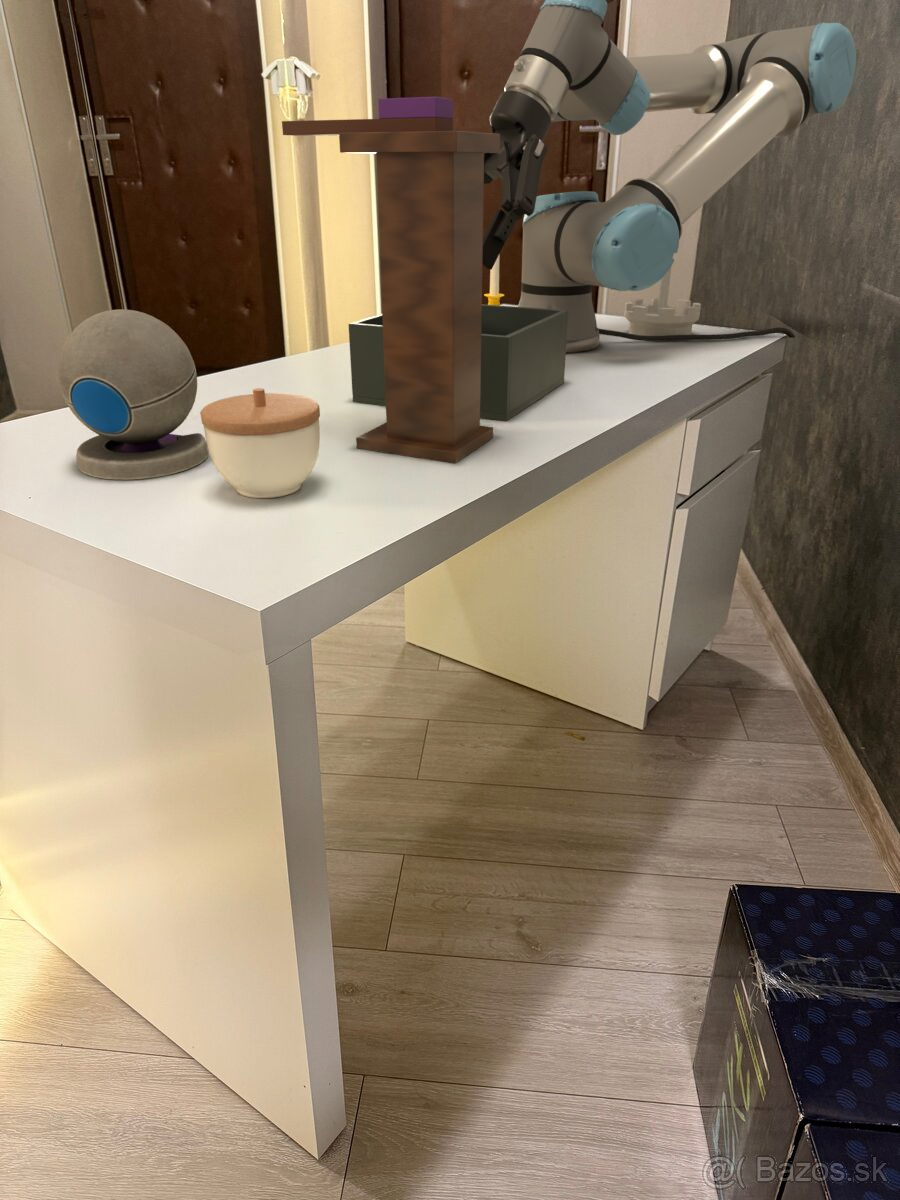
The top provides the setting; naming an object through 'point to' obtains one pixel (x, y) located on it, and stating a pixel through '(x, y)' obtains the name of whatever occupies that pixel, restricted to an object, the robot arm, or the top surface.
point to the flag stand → (662, 311)
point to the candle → (494, 285)
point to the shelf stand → (429, 288)
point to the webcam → (130, 395)
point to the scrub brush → (384, 119)
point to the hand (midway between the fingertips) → (453, 260)
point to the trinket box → (263, 441)
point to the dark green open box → (508, 358)
